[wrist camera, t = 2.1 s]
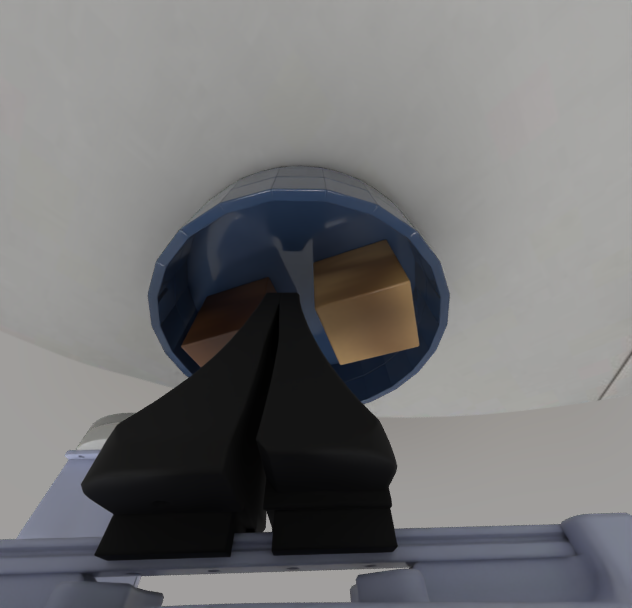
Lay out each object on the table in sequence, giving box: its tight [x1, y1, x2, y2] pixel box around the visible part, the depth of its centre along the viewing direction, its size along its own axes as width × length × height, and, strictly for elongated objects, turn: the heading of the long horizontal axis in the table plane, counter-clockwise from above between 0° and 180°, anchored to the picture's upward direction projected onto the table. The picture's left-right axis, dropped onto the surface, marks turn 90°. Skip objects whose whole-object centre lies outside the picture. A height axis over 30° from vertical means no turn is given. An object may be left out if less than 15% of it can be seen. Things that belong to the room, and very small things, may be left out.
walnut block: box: [181, 277, 277, 367], centre depth 14 cm, size 4×4×4 cm
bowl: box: [148, 166, 450, 404], centre depth 14 cm, size 14×14×4 cm
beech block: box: [313, 240, 419, 365], centre depth 13 cm, size 4×4×4 cm
